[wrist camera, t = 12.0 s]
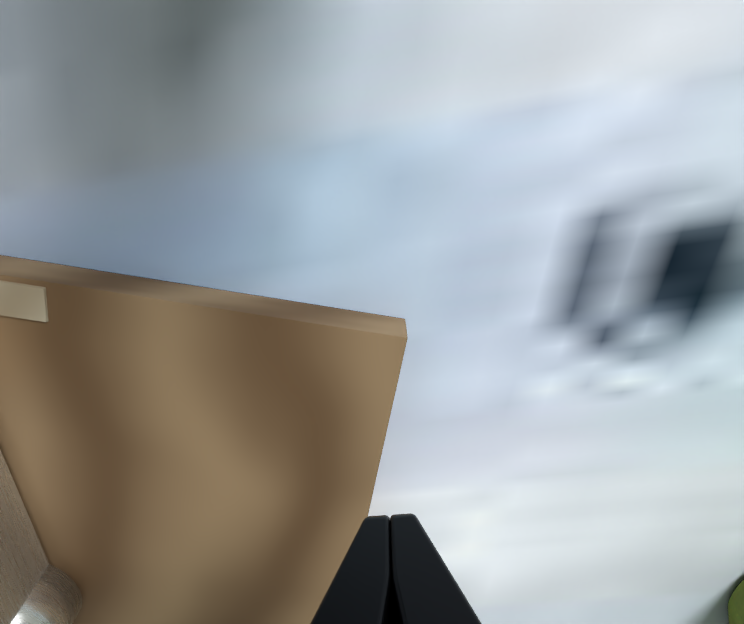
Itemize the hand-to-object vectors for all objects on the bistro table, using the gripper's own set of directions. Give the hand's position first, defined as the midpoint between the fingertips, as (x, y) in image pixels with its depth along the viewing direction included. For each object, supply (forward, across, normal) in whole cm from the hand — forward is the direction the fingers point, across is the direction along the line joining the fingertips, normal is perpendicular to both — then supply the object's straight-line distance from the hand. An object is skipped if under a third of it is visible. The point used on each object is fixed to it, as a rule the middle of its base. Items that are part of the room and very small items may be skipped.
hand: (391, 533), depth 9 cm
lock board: (+11, +13, +9) cm, 19 cm away
